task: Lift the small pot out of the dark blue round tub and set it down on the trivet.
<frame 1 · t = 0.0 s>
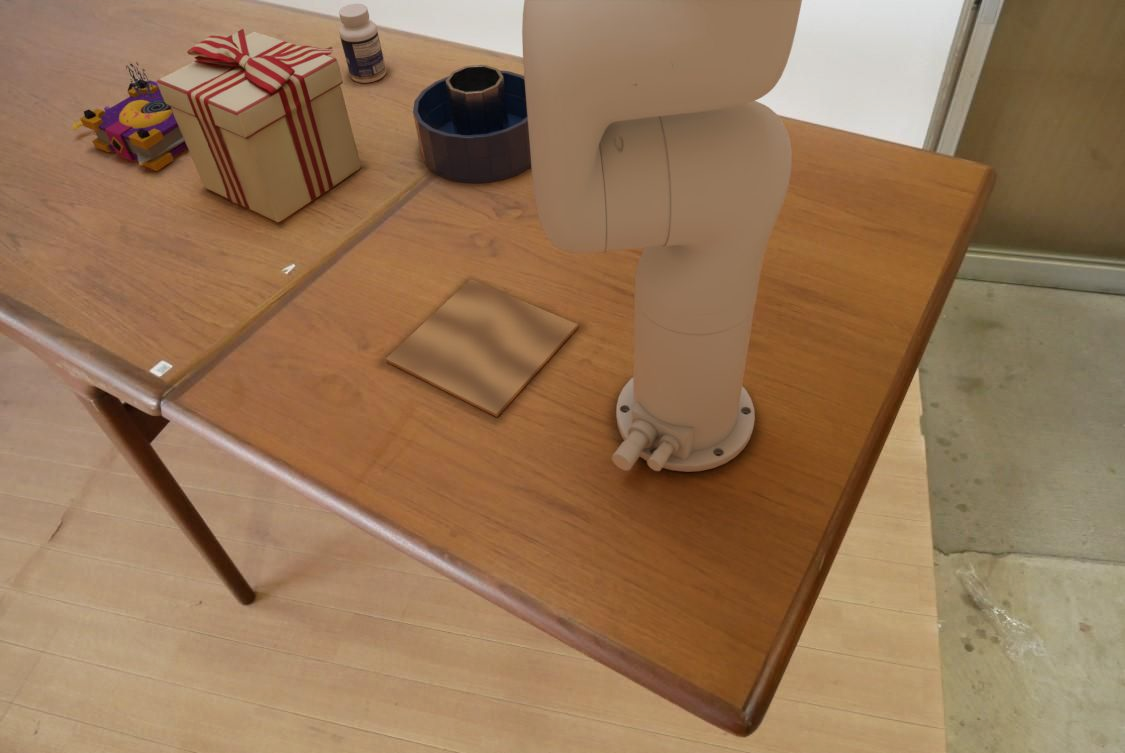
small pot: (483, 142, 110), point 1 cm above the table, touching dark blue round tub
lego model: (166, 140, 116), on the table
pill bottle: (369, 76, 125), on the table
gift box: (289, 173, 109), on the table
trivet: (483, 344, 86), on the table
dark blue round tub: (484, 146, 110), on the table
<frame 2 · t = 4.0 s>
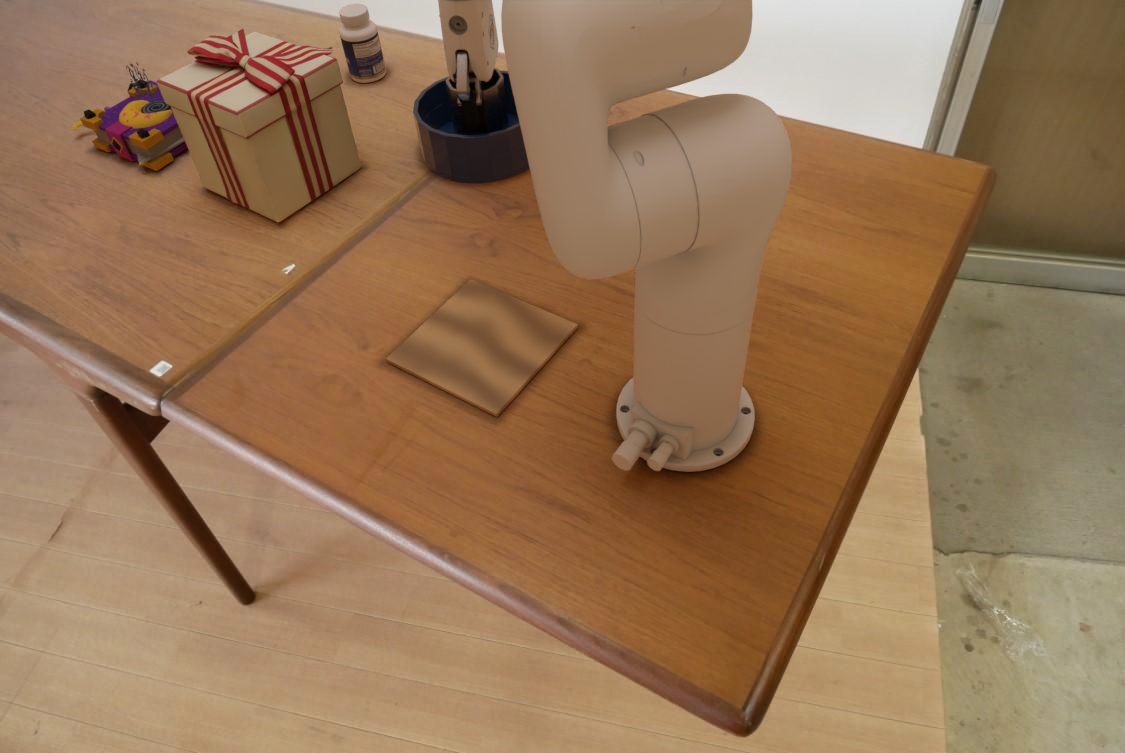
hand: (479, 113, 107), 5 cm above the table, tool pointing down, fingers closed on small pot, 7 cm apart
small pot: (483, 142, 110), point 1 cm above the table, touching gripper, dark blue round tub
everything else where it was.
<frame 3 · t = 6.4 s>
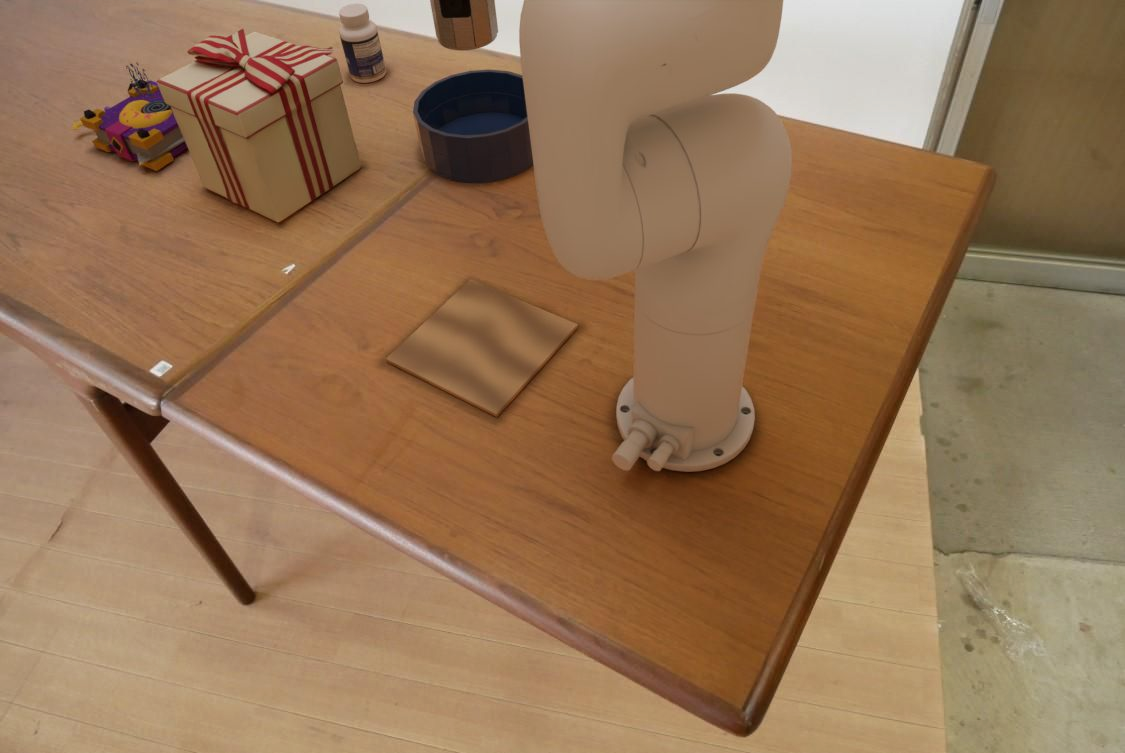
small pot: (467, 36, 96), point 16 cm above the table, touching gripper
everything else where it was.
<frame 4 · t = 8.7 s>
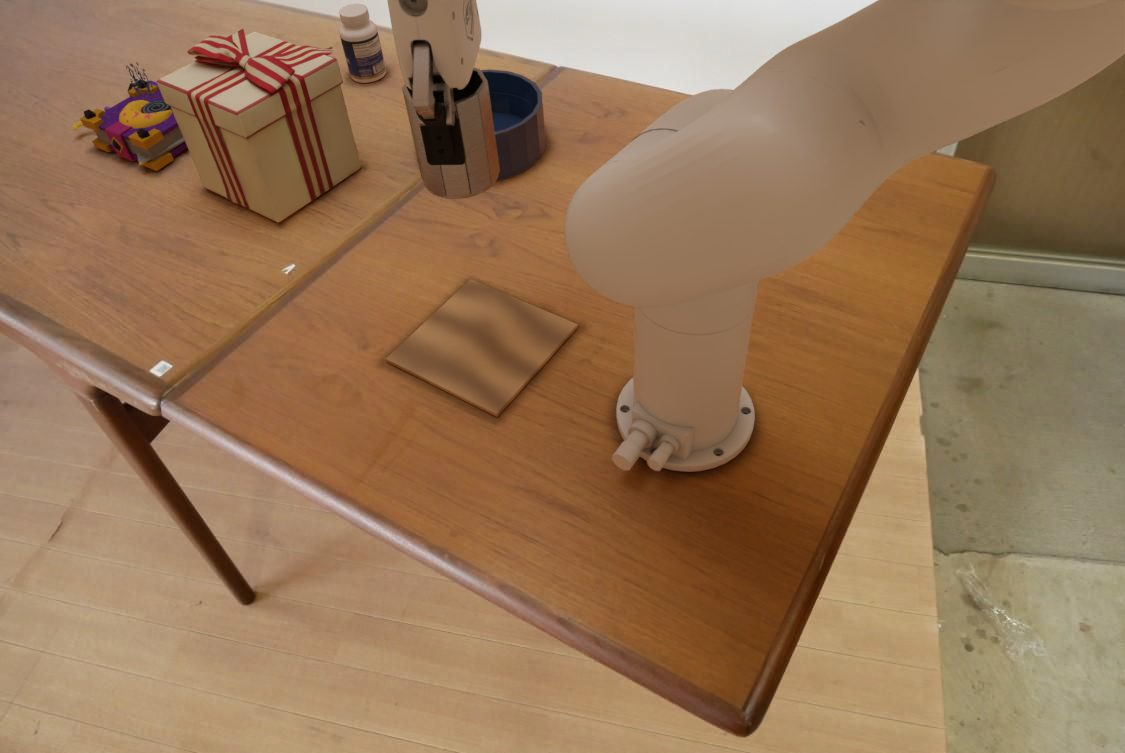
hand: (454, 136, 73), 21 cm above the table, tool pointing down, fingers closed on small pot, 7 cm apart
small pot: (461, 176, 76), point 17 cm above the table, touching gripper
everything else where it was.
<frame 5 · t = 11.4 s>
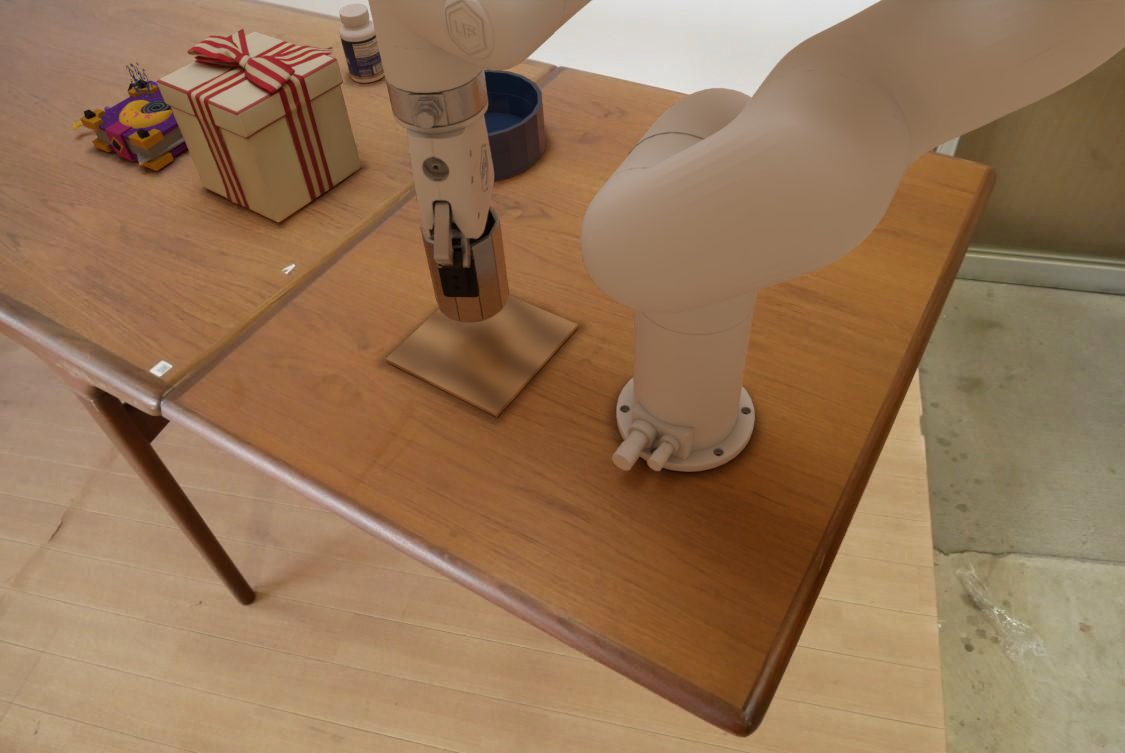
hand: (467, 265, 78), 10 cm above the table, tool pointing down, fingers closed on small pot, 7 cm apart
small pot: (472, 298, 81), point 6 cm above the table, touching gripper
everything else where it was.
when the fingers open (5 cm above the table, at t = 13.3 s): small pot stays where it is, resting on trivet.
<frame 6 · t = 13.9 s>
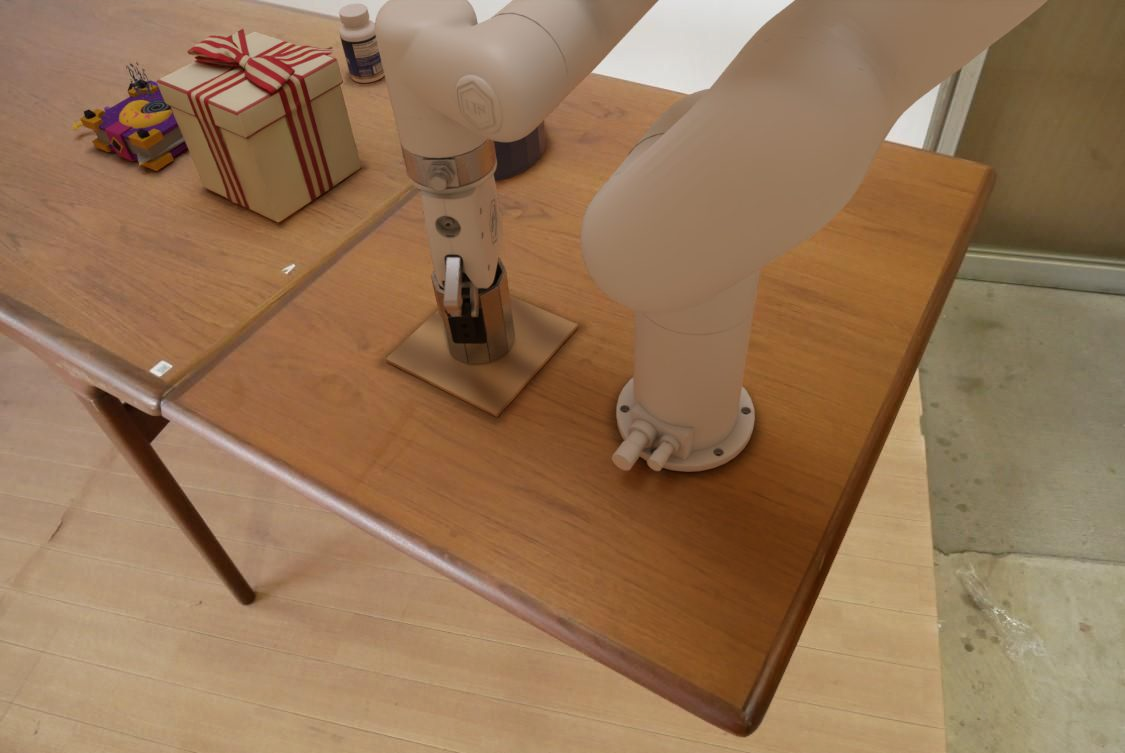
hand: (477, 305, 82), 5 cm above the table, tool pointing down, fingers open, 9 cm apart
small pot: (480, 340, 85), resting on trivet
everything else where it was.
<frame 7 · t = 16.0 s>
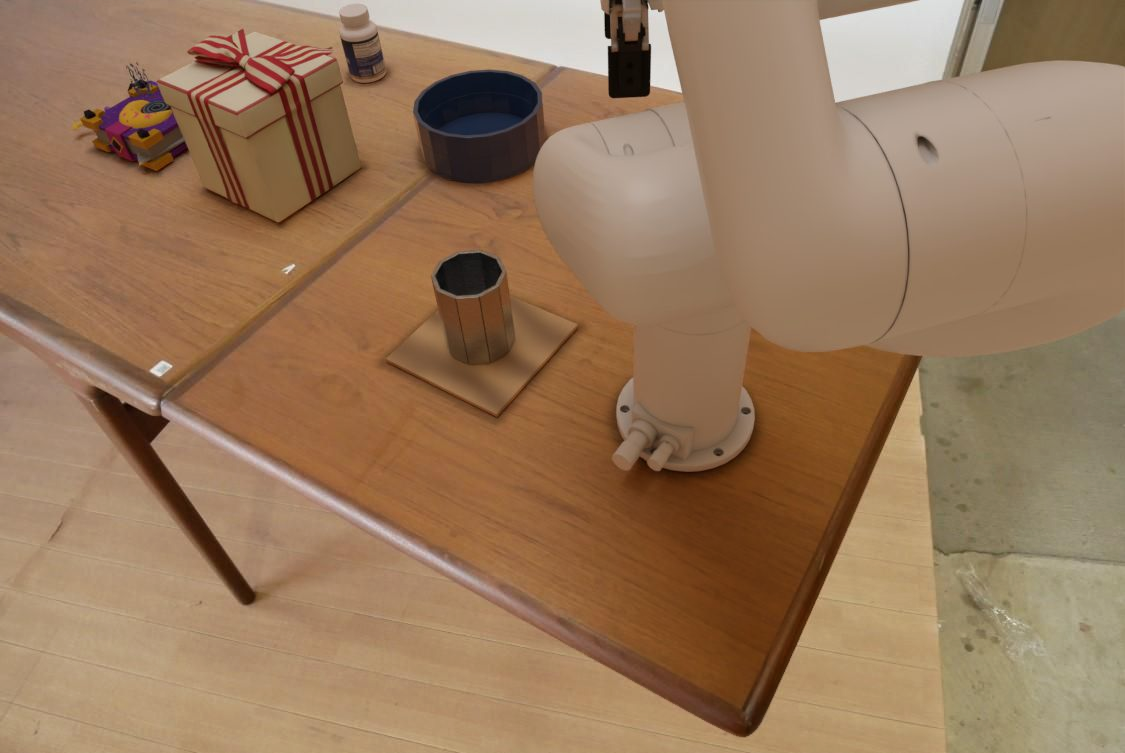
hand: (626, 64, 69), 27 cm above the table, tool pointing down, fingers open, 9 cm apart
nothing on the table moved.
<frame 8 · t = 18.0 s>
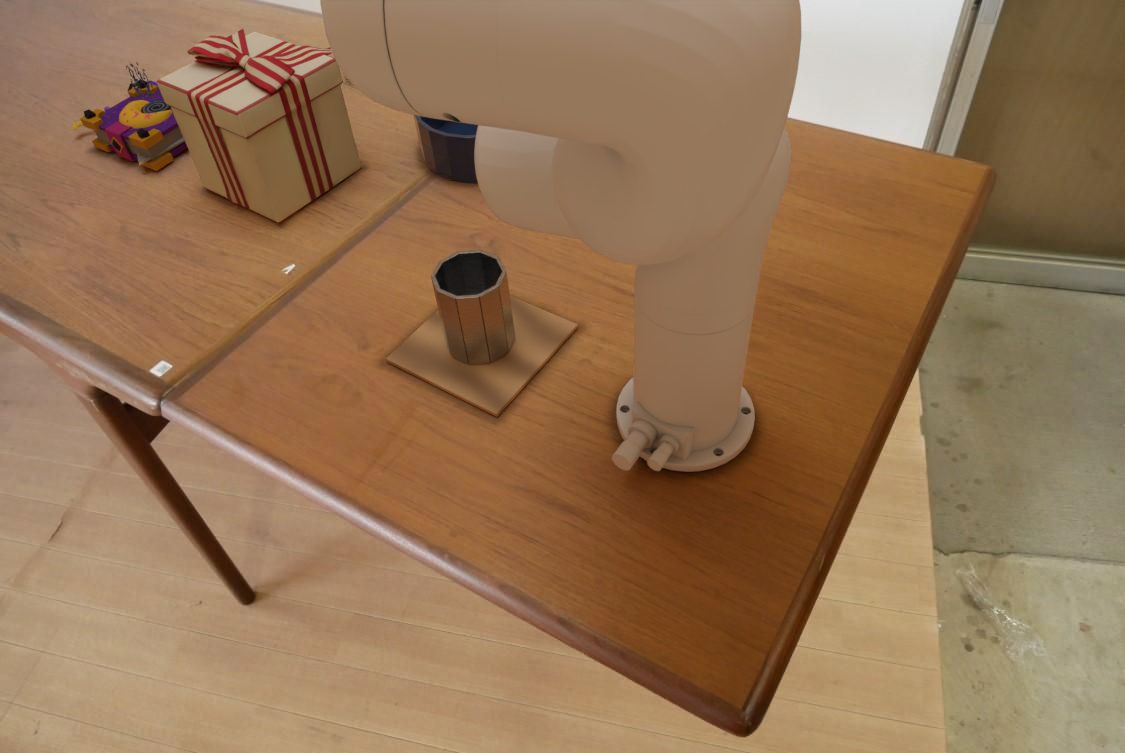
nothing on the table moved.
at the end: small pot inside the target area on the trivet (0.2 cm from its centre), point 0.5 cm above the trivet's base; small pot tilted 0°; small pot touching trivet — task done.
